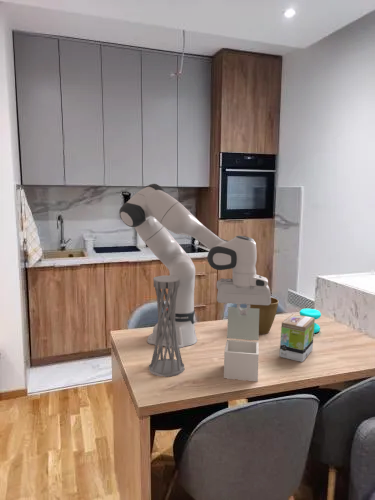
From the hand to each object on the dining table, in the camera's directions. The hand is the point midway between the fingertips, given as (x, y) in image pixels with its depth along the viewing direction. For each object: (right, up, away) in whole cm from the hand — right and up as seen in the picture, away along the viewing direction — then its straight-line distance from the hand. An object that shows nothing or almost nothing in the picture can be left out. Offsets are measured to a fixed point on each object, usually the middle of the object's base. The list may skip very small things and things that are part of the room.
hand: (243, 314), depth 145 cm
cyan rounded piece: (+39, -15, +42) cm, 59 cm away
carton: (-1, -21, -3) cm, 21 cm away
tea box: (+24, -19, +15) cm, 34 cm away
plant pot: (+15, -15, +40) cm, 46 cm away
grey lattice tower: (-29, -21, 0) cm, 36 cm away
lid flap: (0, -4, +2) cm, 4 cm away
